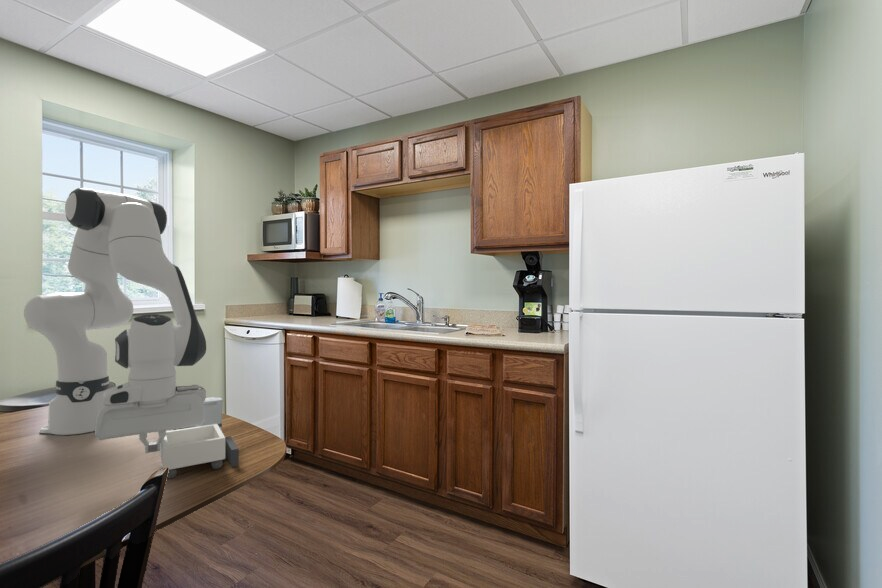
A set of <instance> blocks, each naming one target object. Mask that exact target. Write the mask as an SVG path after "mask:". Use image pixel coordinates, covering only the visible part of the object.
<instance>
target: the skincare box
mask: <svg viewBox="0 0 882 588" xmlns="http://www.w3.org/2000/svg"><path fill="white" fill-rule="evenodd" d="M223 406H224V405H223V399H222V397H221V396H213V397H212V396H211V397H206V399H205V401H204V402H203V407H204V414H205V421H204V422H203V423H202V425H199V426H205V425H212V424H218V426H219V428H220V429H221V431H222V432H223ZM195 427H198V426H195Z"/></svg>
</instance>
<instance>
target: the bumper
mask: <svg viewBox="0 0 882 588" xmlns="http://www.w3.org/2000/svg"><path fill="white" fill-rule="evenodd" d="M239 451H240V450H239V447H238V446H237V443H236V442H235V440H234V439H233V437H232V436H225V459H227V461H228V463H229V465H230V467H231V468H233V467H234V468H235V467H239V466H240V465H239V463H240V461H239V459H240V458H239V456H240V455H239V454H240V453H239Z"/></svg>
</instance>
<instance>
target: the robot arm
mask: <svg viewBox="0 0 882 588" xmlns="http://www.w3.org/2000/svg"><path fill="white" fill-rule="evenodd" d="M64 213H65V217H66V220H67V221H68V223H70V225H71V226H73V227H75V228H77V230H76V232H75V235H74V237H73V242H72V246H71V247H72V248H71V249H70V250H71V251H70V253H69V254H70V256H69V259H68V263H67V269H68V272H69V274H70V275H71V276H72V277H74V279H76V280H78V281H80V282H81V283H83V284H85V288H84V290H83V291H56V292H55V291H54V292H47V293H43V294H38V295H33V296H32V297H31V298H30V299H29V300H28V301H27V302H26V305H25V306H24V309H23V317H24V320H25V322H26V324H27V325H28V326H29V327H30V328H31V329H32V330H34V331H36V332H38V333H40V334H41V335H43V336H44V337H45V338H46V340H48V341H49V342H50V344H51V345H52V347H53V349H54V353H55V355H56V361H57V363H56V364H57V380H56V381H55V385H54V386H55V394H56V395H55V397H54V398H52V399H51V401H49V403H48V415H47V416H48V417H47V423H46V424H45V425H44V426H42V427H41V428H40V429H39V433H40V434H53V435H60V436H61V435H62V436H68V435H77V434H86V433H91V432H94V437H95V438H96V439H97V440H99V441H103V440H104V441H105V440H110V439H117V438H123V437H130V436H131V437H132V436H136V435H137V436H139V439H138V440H139V441H140V442H141V443H142V444H143V446H144V447H145V448H144V449H145V450H144V451H145V454H150V453H157V452H160V443H161V442H162V441H163V439H164V437H165V436H166V431H171V430H173V429H179V428H186V427H193V426H199V425H202V423H203V422H204V421H205V414H204V407H203V402H204V401H205V399H206V398H207V393H206V392H207V390H206V389H205V387H204V386H201V385H199V384H192V385H181V386H179V385H178V386H177V371H176V368H175V367H191V366H195V365H196V364H197V363H198V362H199V361H200V360H201V359H202V358H204V356H205V354H206V352H207V341H206V337H205V334H204V331H203V329H202V327H201V325H200V323H199V319H198V317H197V314H196V311H195V308H194V305H193V302H192V299H191V296H190V292H189V289H188V287H187V283H186V281H185V277H184V275H183V272H182V270H181V269H180V267H179V266H177V265H176V264H173V263H172V262H171V261H170V260H169V259H168V257H167V256H166V253H165V252H164V249H163V242H162V234H163V233H164V231H165V230H166V227H167V222H168V217H167V216H168V215H167V212H166V209H165V208H164V206H162V204H160V203H158V202H156V201H153V200H150V199H148V200H146V199H143V198H140V197H137V196H133V195H129V194H126V193H117V192H112V191H103V190H95V189H94V188H91V187H90V188H88V187H80V188H79V187H77V188H75V189H74V190H72V191H71V192H70V193H69V194H68V197H67V198H66V200H65V203H64ZM118 275H120V276H121V277H123V278H125V279H126V280H128V281H131V282H133V283H137V284H141V285H144V286H146V287H150V288H151V289H155V290H157V291H160V292H161V293H163V294H164V296H166V297H167V298H168V301H169V302H170V306H171V309H172V312H173V315H174V319H175V323H176V325H174V321H173V319H172V318H171V317H169V316H167V315H164V314H158V313H157V314H156V313H155V314H154V313H153V314H152V313H151V314H148V313H147V314H142V315H138V316H135V317H134V318H132V317H133V314H134V304H133V301H132V300H131V299H130V298H129V296H128V295H127V294H125V293H124V292H123V291H122V289H121V288H120V285H119V281H118ZM131 318H132V320H131ZM130 320H131V324H130V328H126V329H124V330H123V331H122V332H121V333H119V334H118V335H117V336H116V337H115V338H114V340H115V341H114V342H115V356H114V358H115V359H114V362H115V363H116V364H118V365H120V367H123V369H124V368H125V369H129V373H128V379H127V382H125V383H122V384H119V385H117V386H114V387H110V377H109V375H108V353H107V352H108V351H107V350H106V348H104V347H103V346H102V345H101V344H98V343H95V342H93V341H90V339H88V336H87V333H86V331H89V330H90V331H91V330H100V329H102V330H103V329H110V328H114V327H118V326H121V325H126V324H127V323H129V321H130ZM150 433H157V434H158V438H157V440H156V441H153V442H152V441H151V442H149V441H148V439H147V438H148V434H150Z"/></svg>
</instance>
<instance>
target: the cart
mask: <svg viewBox="0 0 882 588" xmlns="http://www.w3.org/2000/svg"><path fill="white" fill-rule="evenodd" d="M225 437H226V436H225V435H224V432H223V430H222V431H221V429H220V428H219V426H218V424H212V425H205V426H198V427H192V428H185V429H178V430H173V429H172V430H166V436H165V437H164V439H163V441H162V442H161V443H160V451H159V453H160V458H161V459H160V460H161V465H162V466H161V467H162V469H163V468H165V467H168V468H169V473H168V478H167V479H172V478H174V477H176V476H177V474H178V469H180V468H185V467H190V466H195V465H201V464H206V463H210V465H211V468H212V469H214V470H218V469H220V468H221V467H222V466H223V463H224V461H223V460H226V456H225Z"/></svg>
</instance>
